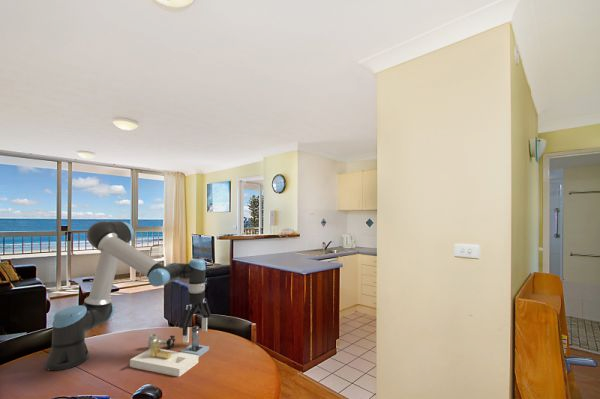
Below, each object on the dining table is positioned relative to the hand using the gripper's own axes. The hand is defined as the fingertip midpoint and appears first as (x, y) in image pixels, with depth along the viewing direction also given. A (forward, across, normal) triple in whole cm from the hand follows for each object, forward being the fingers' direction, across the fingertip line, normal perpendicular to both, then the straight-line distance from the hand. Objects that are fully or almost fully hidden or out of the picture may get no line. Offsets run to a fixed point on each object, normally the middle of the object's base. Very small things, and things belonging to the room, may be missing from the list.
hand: (195, 336), depth 135 cm
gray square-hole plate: (+8, 0, 0) cm, 8 cm away
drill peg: (+8, 0, 0) cm, 8 cm away
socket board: (+8, -14, +5) cm, 17 cm away
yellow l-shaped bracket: (+4, -14, +7) cm, 16 cm away
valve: (+9, -1, +20) cm, 22 cm away
